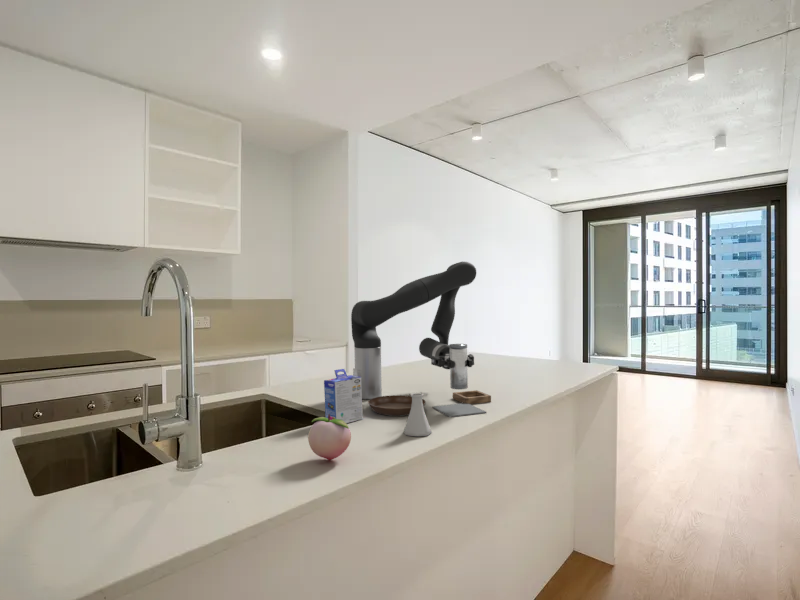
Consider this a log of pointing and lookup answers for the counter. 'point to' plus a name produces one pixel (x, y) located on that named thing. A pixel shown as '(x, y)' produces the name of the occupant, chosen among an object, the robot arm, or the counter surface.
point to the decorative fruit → (329, 437)
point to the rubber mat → (458, 409)
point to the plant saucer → (392, 405)
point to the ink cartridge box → (343, 397)
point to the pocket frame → (471, 397)
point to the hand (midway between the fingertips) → (461, 364)
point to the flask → (417, 418)
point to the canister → (458, 366)
